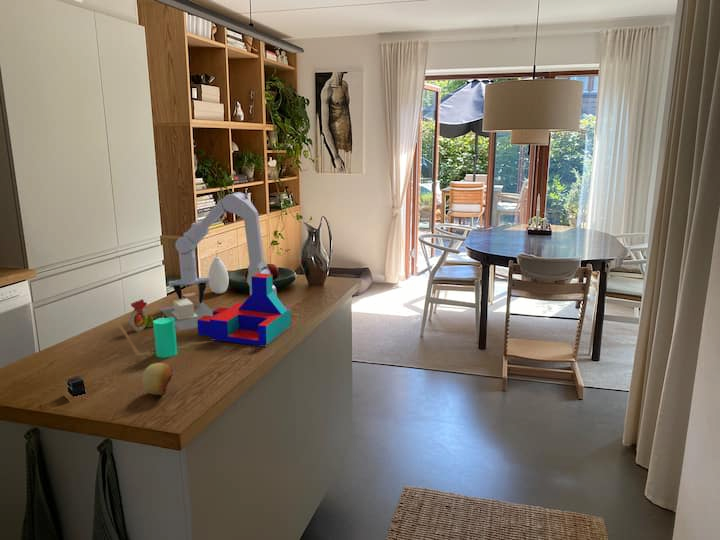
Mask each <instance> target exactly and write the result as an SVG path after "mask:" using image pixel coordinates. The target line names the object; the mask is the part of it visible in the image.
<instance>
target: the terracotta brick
mask: <svg viewBox="0 0 720 540" xmlns="http://www.w3.org/2000/svg"><path fill="white" fill-rule="evenodd" d="M183 298H187V299H188V300H190V301H191V302H192V303H193V304H194V307H200V303H199V294H197V293H196V292H191V293H185V294H182V299H183Z"/></svg>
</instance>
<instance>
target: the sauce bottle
mask: <svg viewBox="0 0 720 540" xmlns="http://www.w3.org/2000/svg"><path fill="white" fill-rule="evenodd" d="M207 276H208V277H209V279H210V283H209V284H208V285H209V287H210V290H211V291H212V292H213V293H215V294H224V293H225V292H227V289H228V287H229V282H230V281H229V279H230V278H229V272H228V270H227V267H226V265H225V263H224V262H223V260H221V257H219V256H218V251H216V252H215V257H214V258H213V260H212V262H211V264H210V266H209V269H208V275H207ZM208 277H207V278H208Z"/></svg>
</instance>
